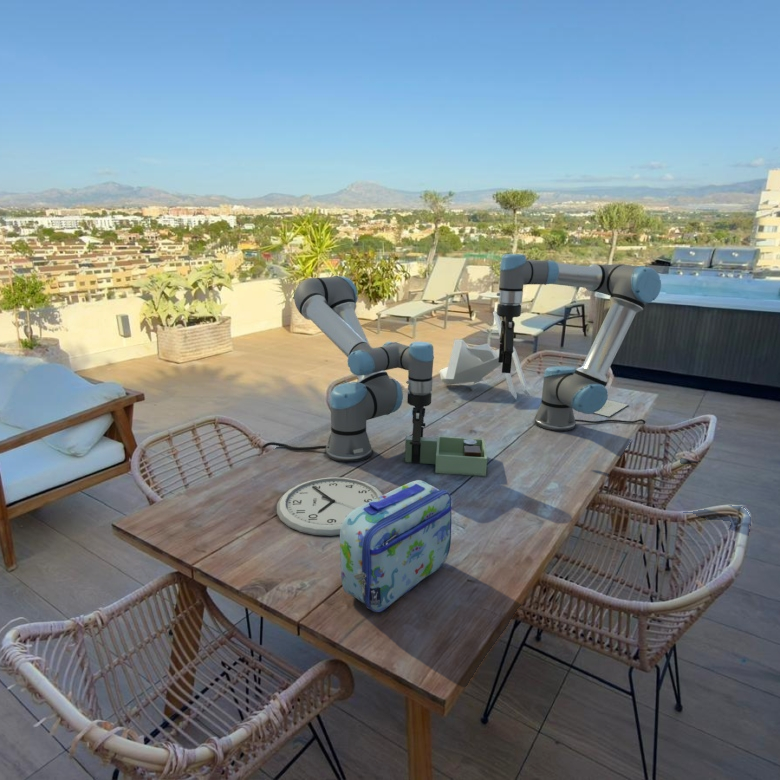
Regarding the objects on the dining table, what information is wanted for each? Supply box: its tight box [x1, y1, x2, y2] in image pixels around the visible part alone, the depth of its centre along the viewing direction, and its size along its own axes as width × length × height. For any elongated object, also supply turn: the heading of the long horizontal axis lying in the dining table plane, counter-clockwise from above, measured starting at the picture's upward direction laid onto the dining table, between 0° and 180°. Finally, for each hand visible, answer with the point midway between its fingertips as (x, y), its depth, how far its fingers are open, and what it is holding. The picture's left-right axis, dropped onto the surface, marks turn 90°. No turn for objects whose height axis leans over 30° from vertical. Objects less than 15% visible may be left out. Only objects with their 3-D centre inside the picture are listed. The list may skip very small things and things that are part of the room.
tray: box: [404, 435, 488, 477], centre depth 169 cm, size 26×16×8 cm, turn 83°
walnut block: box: [463, 446, 481, 457], centre depth 165 cm, size 5×5×6 cm
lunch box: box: [339, 479, 452, 613], centre depth 109 cm, size 26×11×21 cm, turn 134°
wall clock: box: [276, 476, 385, 537], centre depth 142 cm, size 30×2×30 cm
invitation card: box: [593, 399, 629, 418], centre depth 226 cm, size 21×1×15 cm
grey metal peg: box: [462, 439, 477, 456], centre depth 171 cm, size 4×4×6 cm
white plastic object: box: [438, 310, 531, 400], centre depth 245 cm, size 37×45×31 cm
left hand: (417, 453), depth 170 cm, fingers open, 13 cm apart
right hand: (504, 367), depth 175 cm, fingers open, 13 cm apart
